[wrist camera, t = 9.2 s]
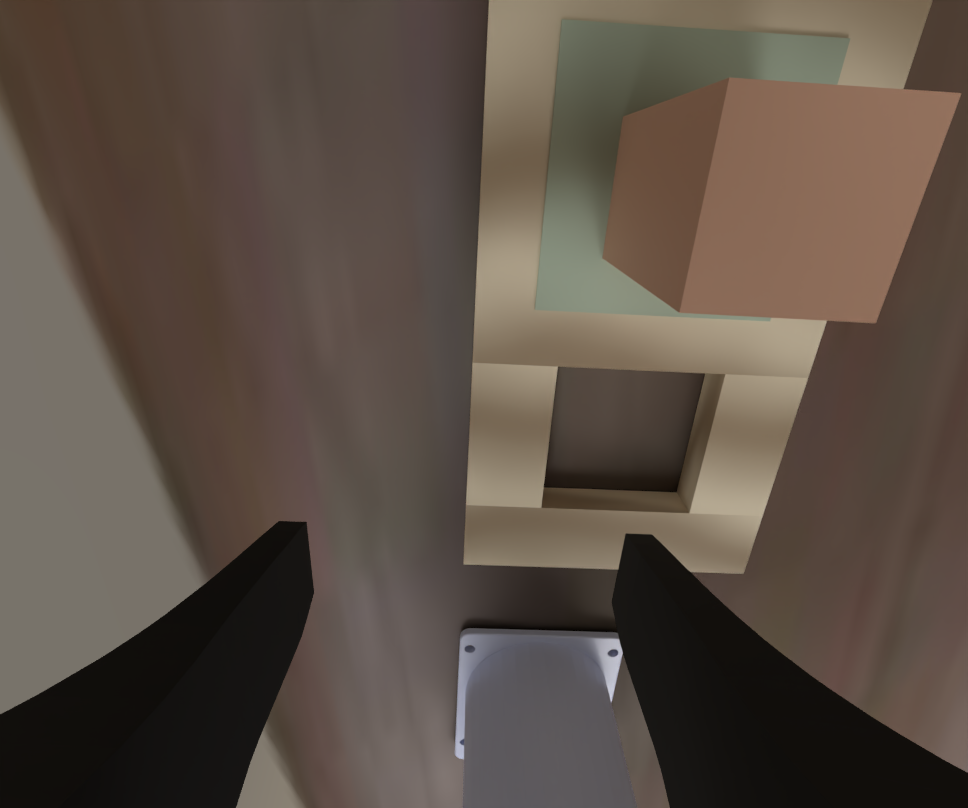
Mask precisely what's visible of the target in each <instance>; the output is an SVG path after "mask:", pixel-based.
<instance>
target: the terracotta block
mask: <svg viewBox="0 0 968 808" xmlns="http://www.w3.org/2000/svg"><path fill="white" fill-rule="evenodd" d="M960 96H961V93H952V92H937V91H922V90H907V89H893V88H878V87H863V86H848V85H833V84H819V83H804V82H789V81H774V80H759V79H745V78H730V77H729V78H727V79H724V80H721V81H719V82H716V83H713V84H710V85H708V86H705V87H702V88H699V89H697V90H694V91H691V92H689V93H686V94H683V95H680V96H678V97H675V98H672V99H670V100H667V101H664V102H661V103H659V104H656V105H653V106H651V107H648V108H645V109H642V110H640V111H637V112H634V113H631V114H629V115H626V116H623V119H622V126H621V133H620V140H619V147H618V154H617V161H616V168H615V175H614V181H613V188H612V195H611V202H610V209H609V216H608V223H607V230H606V237H605V244H604V251H603V257H602V258H603V259H604V260H606V261H607V262H608V263H610V264H611V265H613V266H614V267H615V268H617V269H618V270H620V271H621V272H622V273H624V274H625V275H627V276H628V277H630V278H631V279H632V280H634V281H635V282H637V283H638V284H639V285H641V286H642V287H644V288H645V289H646V290H648V291H649V292H651V293H652V294H653V295H655V296H656V297H658V298H659V299H661V300H662V301H663V302H665V303H666V304H668V305H669V306H670V307H672V308H673V309H675V310H676V311H677V312H679V313H691V314H710V315H729V316H748V317H767V318H786V319H805V320H824V321H843V322H863V323H876V321H877V318H878V316H879V313H880V310H881V308H882V305H883V302H884V300H885V297H886V294H887V292H888V289H889V286H890V284H891V281H892V278H893V276H894V273H895V270H896V268H897V265H898V262H899V260H900V257H901V254H902V251H903V249H904V246H905V243H906V241H907V238H908V235H909V233H910V230H911V227H912V225H913V222H914V219H915V217H916V214H917V211H918V209H919V206H920V203H921V201H922V198H923V195H924V193H925V190H926V187H927V184H928V182H929V179H930V176H931V174H932V171H933V168H934V166H935V163H936V160H937V158H938V155H939V152H940V150H941V147H942V144H943V142H944V139H945V136H946V134H947V131H948V128H949V126H950V123H951V120H952V117H953V115H954V112H955V109H956V107H957V104H958V101H959V99H960Z"/></svg>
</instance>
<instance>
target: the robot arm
mask: <svg viewBox="0 0 968 808" xmlns="http://www.w3.org/2000/svg"><path fill="white" fill-rule="evenodd" d="M313 594H314V588H313V579H312V569H311V560H310V551H309V541H308V532H307V523H306V522H290V521H279V522H277V523H276V524H275V525H274V526H273V527H271V528H270V529H269V530H268V531H267V532H266V533H264V534H263V535H262V536H261V537H260V538H259V539H257V540H256V541H255V542H254V543H253V544H252V545H251V546H249V547H248V548H247V549H246V550H245V551H244V552H242V553H241V554H240V555H239V556H238V557H237V558H236V559H234V560H233V561H232V562H231V563H230V564H228V565H227V566H226V567H225V568H224V569H222V570H221V571H220V572H219V573H218V574H216V575H215V576H214V577H213V578H212V579H210V580H209V581H208V582H207V583H206V584H204V585H203V586H202V587H201V588H199V589H198V590H197V591H195V592H194V593H193V594H192V595H190V596H189V597H188V598H186V599H185V600H184V601H182V602H181V603H180V604H179V605H177V606H176V607H175V608H173V609H172V610H171V611H170V612H168V613H167V614H166V615H164V616H163V617H161V618H160V619H159V620H157V621H156V622H154V623H153V624H152V625H150V626H149V627H147V628H146V629H144V630H143V631H141V632H140V633H139V634H137V635H135V636H134V637H132V638H131V639H129V640H128V641H126V642H125V643H123V644H122V645H120V646H119V647H117V648H116V649H114V650H113V651H111V652H109V653H108V654H106V655H105V656H103V657H102V658H100V659H98V660H96V661H95V662H93V663H91V664H90V665H88V666H86V667H85V668H83V669H81V670H80V671H78V672H76V673H74V674H73V675H71V676H69V677H68V678H66V679H64V680H62V681H61V682H59V683H57V684H56V685H54V686H52V687H50V688H49V689H47V690H45V691H44V692H42V693H40V694H38V695H36V696H35V697H32V698H31V699H29V700H27V701H25V702H23V703H21V704H19V705H18V706H16V707H14V708H12V709H10V710H8V711H6V712H4V713H2V714H0V808H236V806H237V802H238V799H239V796H240V793H241V790H242V787H243V784H244V780H245V777H246V774H247V771H248V768H249V765H250V761H251V759H252V756H253V754H254V751H255V748H256V746H257V743H258V740H259V738H260V735H261V733H262V731H263V728H264V726H265V723H266V721H267V719H268V716H269V714H270V711H271V709H272V707H273V704H274V702H275V700H276V697H277V695H278V692H279V690H280V688H281V685H282V683H283V680H284V678H285V676H286V673H287V671H288V668H289V666H290V664H291V661H292V659H293V656H294V654H295V651H296V649H297V647H298V644H299V642H300V639H301V637H302V633H303V630H304V627H305V623H306V620H307V616H308V613H309V609H310V605H311V601H312V598H313ZM612 606H613V611H614V616H615V621H616V626H617V631H618V633H615V632H588V631H554V630H520V629H486V628H467V629H465V630H463V631H462V632H461V634H460V648H459V670H458V692H457V714H456V736H455V755H456V756H457V757H458V758H460V759H464V776H463V808H637V804H636V800H635V796H634V792H633V788H632V784H631V780H630V776H629V772H628V768H627V764H626V760H625V756H624V752H623V748H622V744H621V740H620V736H619V732H618V728H617V724H616V720H615V716H614V712H613V708H612V704H611V703H612V699H613V694H614V690H615V685H616V681H617V676H618V672H619V668H620V663H621V659H622V654H623V655H624V658H625V661H626V664H627V667H628V670H629V673H630V676H631V679H632V682H633V685H634V688H635V691H636V694H637V697H638V700H639V703H640V706H641V709H642V712H643V715H644V718H645V721H646V724H647V727H648V730H649V733H650V736H651V739H652V742H653V745H654V748H655V751H656V755H657V758H658V761H659V765H660V768H661V772H662V776H663V780H664V784H665V788H666V793H667V797H668V801H669V805H670V808H968V773H967V772H965V771H963V770H961V769H959V768H957V767H956V766H954V765H952V764H950V763H948V762H946V761H945V760H943V759H941V758H939V757H938V756H936V755H934V754H933V753H931V752H929V751H927V750H926V749H924V748H922V747H921V746H919V745H917V744H915V743H914V742H912V741H910V740H909V739H907V738H905V737H904V736H902V735H900V734H898V733H897V732H895V731H894V730H892V729H890V728H889V727H887V726H886V725H884V724H882V723H881V722H879V721H877V720H876V719H874V718H873V717H871V716H870V715H868V714H866V713H865V712H863V711H862V710H860V709H859V708H857V707H856V706H854V705H853V704H851V703H850V702H848V701H847V700H845V699H844V698H842V697H841V696H839V695H838V694H836V693H835V692H833V691H832V690H830V689H829V688H828V687H826V686H825V685H823V684H822V683H821V682H819V681H818V680H816V679H815V678H813V677H812V676H811V675H809V674H808V673H807V672H805V671H804V670H803V669H801V668H800V667H799V666H797V665H796V664H795V663H793V662H792V661H791V660H790V659H788V658H787V657H786V656H784V655H783V654H782V653H780V652H779V651H778V650H776V649H775V648H774V647H773V646H771V645H770V644H769V643H768V642H767V641H765V640H764V639H763V638H762V637H760V636H759V635H758V634H757V633H756V632H755V631H753V630H752V629H751V628H750V627H749V626H748V625H747V624H745V623H744V622H743V621H742V620H741V619H740V618H738V617H737V616H736V615H735V614H734V613H733V612H732V611H731V610H729V609H728V608H727V607H726V606H725V605H724V604H723V603H722V602H721V601H720V600H719V599H717V598H716V597H715V596H714V595H713V594H712V593H711V592H710V591H709V590H708V589H707V588H706V587H705V586H704V585H703V584H702V583H701V582H700V581H699V580H698V579H697V578H696V577H695V576H694V575H693V574H692V573H691V572H690V571H689V570H688V569H687V568H686V567H685V566H684V565H683V564H682V563H681V562H680V561H679V560H678V559H677V558H676V557H675V556H674V555H673V554H672V553H671V552H670V551H669V550H668V549H667V548H666V547H665V546H664V545H663V544H662V543H661V542H660V541H659V540H657V539H656V538H655V537H654V536H653V535H652V534H628V533H626V534H625V539H624V544H623V549H622V553H621V558H620V563H619V568H618V573H617V578H616V583H615V588H614V593H613V598H612ZM467 645H472V646H467ZM612 649H614V650H612Z"/></svg>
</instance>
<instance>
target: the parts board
mask: <svg viewBox="0 0 968 808" xmlns="http://www.w3.org/2000/svg"><path fill="white" fill-rule="evenodd" d="M932 1H933V0H489V7H488V30H487V52H486V74H485V96H484V118H483V140H482V162H481V184H480V206H479V228H478V250H477V272H476V294H475V316H474V338H473V360H472V382H471V405H470V427H469V449H468V471H467V493H466V515H465V537H464V563H463V564H467V565H497V566H527V567H557V568H587V569H617V570H618V568H619V563H620V558H621V553H622V549H623V544H624V539H625V534H626V533H628V534H652V535H653V536H654V537H655V538H656V539H657V540H659V541H660V542H661V543H662V544H663V545H664V546H665V547H666V548H667V549H668V550H669V551H670V552H671V553H672V554H673V555H674V556H675V557H676V558H677V559H678V560H679V561H680V562H681V563H682V564H683V565H684V566H685V567H686V568H687V569H688V570H689V571H690V572H707V573H737V574H744V571H745V568H746V565H747V562H748V559H749V556H750V553H751V550H752V547H753V544H754V541H755V538H756V535H757V532H758V529H759V526H760V522H761V519H762V516H763V513H764V510H765V507H766V504H767V501H768V498H769V495H770V492H771V489H772V486H773V483H774V480H775V477H776V474H777V471H778V468H779V465H780V462H781V459H782V456H783V453H784V450H785V447H786V444H787V441H788V438H789V434H790V431H791V428H792V425H793V422H794V419H795V416H796V413H797V410H798V407H799V404H800V401H801V398H802V395H803V392H804V389H805V386H806V383H807V380H808V377H809V374H810V371H811V368H812V365H813V362H814V359H815V356H816V353H817V350H818V346H819V343H820V340H821V337H822V334H823V331H824V328H825V325H826V322H827V321H824V320H805V319H786V318H767V317H748V316H729V315H710V314H691V313H679V312H677V311H676V310H675V309H673V308H672V307H670V306H669V305H668V304H666V303H665V302H663V301H662V300H661V299H659V298H658V297H656V296H655V295H653V294H652V293H651V292H649V291H648V290H646V289H645V288H644V287H642V286H641V285H639V284H638V283H637V282H635V281H634V280H632V279H631V278H630V277H628V276H627V275H625V274H624V273H622V272H621V271H620V270H618V269H617V268H615V267H614V266H613V265H611V264H610V263H608V262H607V261H606V260H604V259H603V258H602V257H603V251H604V244H605V237H606V230H607V223H608V216H609V209H610V202H611V195H612V188H613V181H614V175H615V168H616V161H617V154H618V147H619V140H620V133H621V126H622V119H623V116H626V115H629V114H631V113H634V112H637V111H640V110H642V109H645V108H648V107H651V106H653V105H656V104H659V103H661V102H664V101H667V100H670V99H672V98H675V97H678V96H680V95H683V94H686V93H689V92H691V91H694V90H697V89H699V88H702V87H705V86H708V85H710V84H713V83H716V82H719V81H721V80H724V79H727V78H729V77H730V78H745V79H759V80H774V81H789V82H804V83H819V84H833V85H848V86H863V87H878V88H893V89H904V86H905V82H906V79H907V76H908V73H909V70H910V67H911V64H912V61H913V58H914V55H915V52H916V49H917V46H918V43H919V40H920V37H921V34H922V31H923V28H924V25H925V22H926V19H927V16H928V13H929V10H930V7H931V4H932ZM558 367H577V368H599V369H621V370H643V371H665V372H687V373H705V377H704V381H703V385H702V389H701V393H700V397H699V401H698V406H697V410H696V414H695V418H694V422H693V426H692V430H691V434H690V439H689V443H688V447H687V451H686V455H685V459H684V463H683V468H682V472H681V476H680V480H679V484H678V488H677V492H654V491H628V490H601V489H575V488H549V487H544V480H545V472H546V463H547V455H548V446H549V437H550V429H551V420H552V412H553V403H554V395H555V386H556V378H557V369H558Z"/></svg>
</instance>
